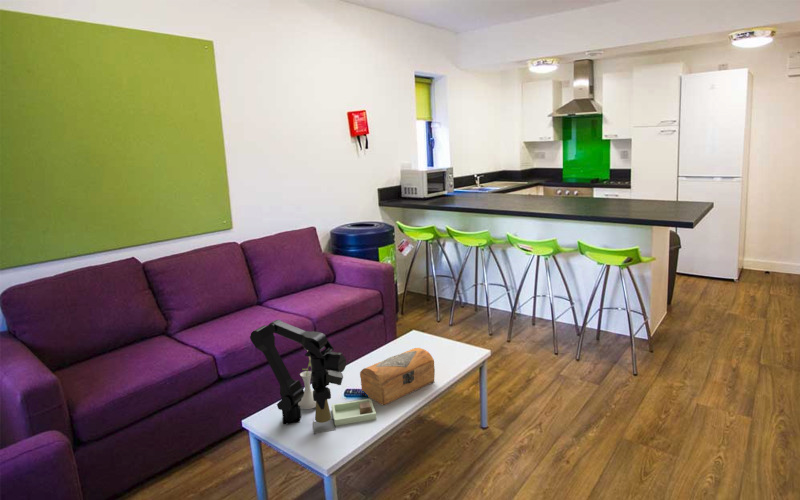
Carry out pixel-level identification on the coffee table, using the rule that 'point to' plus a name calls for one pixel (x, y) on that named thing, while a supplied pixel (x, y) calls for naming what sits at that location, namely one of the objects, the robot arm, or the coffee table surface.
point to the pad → (324, 426)
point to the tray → (351, 412)
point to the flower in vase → (307, 390)
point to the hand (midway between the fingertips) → (322, 405)
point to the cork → (322, 413)
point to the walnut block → (365, 408)
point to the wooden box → (398, 375)
